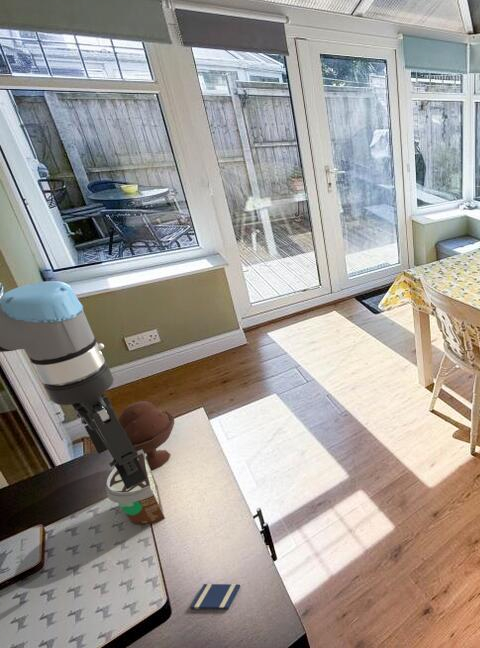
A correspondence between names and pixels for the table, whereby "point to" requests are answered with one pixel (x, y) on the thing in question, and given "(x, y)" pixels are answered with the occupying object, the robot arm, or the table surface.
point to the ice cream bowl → (147, 430)
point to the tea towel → (215, 596)
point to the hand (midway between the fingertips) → (121, 465)
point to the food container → (137, 495)
